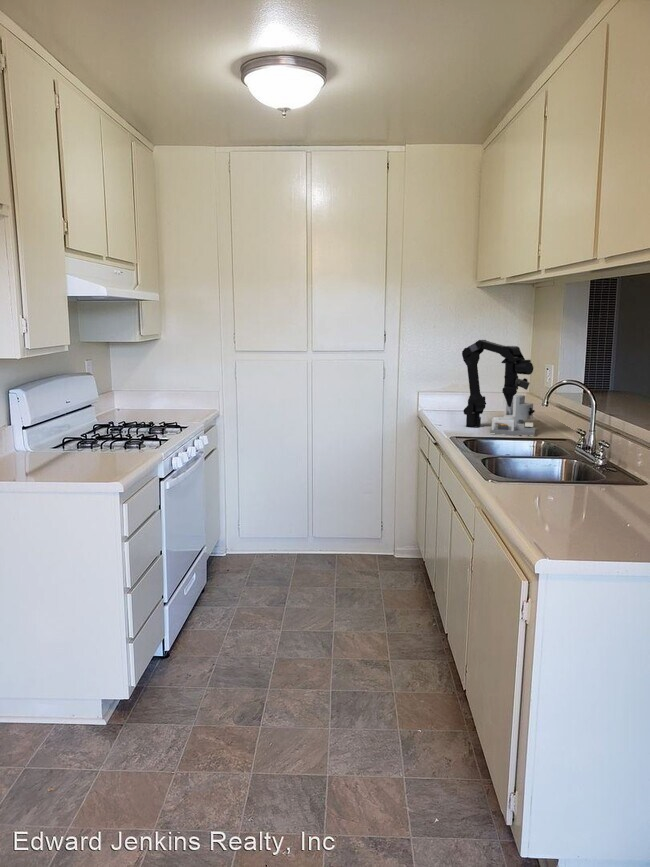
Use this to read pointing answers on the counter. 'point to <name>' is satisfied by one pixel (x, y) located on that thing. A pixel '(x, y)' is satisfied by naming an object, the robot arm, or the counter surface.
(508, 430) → the breaker panel
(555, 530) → the counter surface
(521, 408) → the circuit breaker
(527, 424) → the rocker switch
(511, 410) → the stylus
